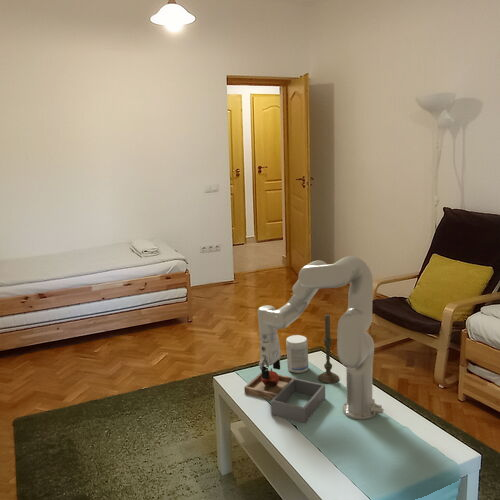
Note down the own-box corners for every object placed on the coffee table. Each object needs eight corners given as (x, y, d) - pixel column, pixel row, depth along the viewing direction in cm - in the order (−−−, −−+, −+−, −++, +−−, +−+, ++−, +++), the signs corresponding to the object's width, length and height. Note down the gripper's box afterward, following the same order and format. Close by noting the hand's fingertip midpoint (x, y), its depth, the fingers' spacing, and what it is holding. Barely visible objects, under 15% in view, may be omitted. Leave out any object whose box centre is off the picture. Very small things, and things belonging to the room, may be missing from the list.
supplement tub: (312, 368, 220) (311, 338, 217) (299, 375, 214) (298, 345, 210) (296, 362, 227) (295, 333, 224) (283, 369, 221) (281, 339, 217)
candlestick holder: (326, 371, 216) (325, 308, 210) (343, 378, 209) (342, 313, 203) (313, 379, 210) (311, 314, 204) (330, 386, 203) (329, 319, 197)
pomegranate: (278, 395, 201) (284, 373, 207) (271, 387, 196) (277, 365, 202) (262, 393, 204) (268, 372, 210) (255, 385, 200) (262, 364, 206)
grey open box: (325, 398, 194) (325, 384, 193) (305, 424, 177) (304, 409, 176) (293, 391, 201) (293, 377, 200) (271, 415, 184) (270, 400, 183)
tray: (295, 383, 207) (295, 378, 206) (278, 401, 194) (278, 395, 193) (263, 376, 215) (262, 371, 214) (244, 392, 202) (244, 387, 201)
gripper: (266, 344, 190) (269, 384, 193) (285, 329, 204) (288, 366, 208) (250, 342, 194) (253, 381, 197) (270, 327, 208) (273, 364, 211)
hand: (271, 373), depth 202 cm, fingers open, 9 cm apart
